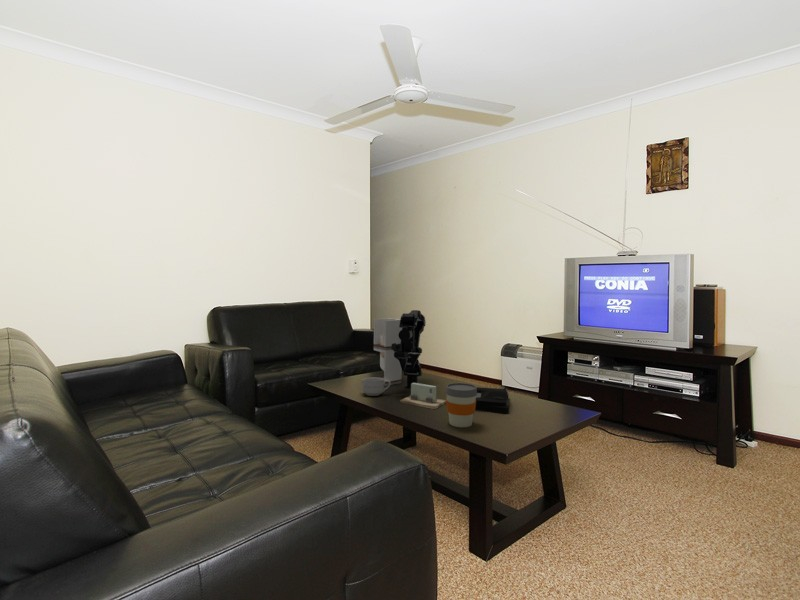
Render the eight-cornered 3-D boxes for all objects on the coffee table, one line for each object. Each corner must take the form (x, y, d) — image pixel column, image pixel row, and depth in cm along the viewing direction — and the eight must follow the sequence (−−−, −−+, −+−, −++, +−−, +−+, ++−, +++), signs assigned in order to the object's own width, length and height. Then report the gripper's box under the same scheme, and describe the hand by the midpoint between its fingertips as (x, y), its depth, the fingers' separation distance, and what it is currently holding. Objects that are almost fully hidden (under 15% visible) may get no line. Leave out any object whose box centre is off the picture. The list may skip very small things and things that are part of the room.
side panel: (413, 396, 214) (413, 390, 213) (446, 402, 204) (446, 396, 204) (400, 402, 203) (400, 395, 203) (435, 409, 194) (435, 402, 194)
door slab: (413, 397, 208) (413, 382, 208) (436, 401, 202) (436, 386, 201) (410, 398, 205) (410, 383, 205) (433, 402, 199) (433, 387, 199)
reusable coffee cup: (477, 420, 180) (478, 384, 179) (474, 430, 168) (475, 391, 167) (447, 417, 184) (448, 381, 183) (442, 426, 171) (443, 389, 171)
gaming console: (508, 415, 188) (509, 399, 188) (462, 411, 193) (463, 395, 193) (508, 398, 214) (508, 384, 214) (467, 395, 219) (468, 381, 218)
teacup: (359, 396, 213) (359, 380, 212) (366, 391, 223) (366, 375, 223) (386, 398, 209) (387, 382, 209) (392, 393, 220) (392, 377, 220)
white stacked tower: (389, 379, 249) (390, 318, 247) (401, 382, 241) (402, 319, 239) (373, 382, 242) (373, 319, 240) (385, 386, 234) (385, 320, 232)
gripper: (404, 335, 232) (403, 364, 232) (384, 339, 216) (384, 370, 216) (422, 336, 226) (422, 366, 227) (404, 341, 210) (403, 373, 211)
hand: (408, 369), depth 220 cm, fingers open, 9 cm apart
